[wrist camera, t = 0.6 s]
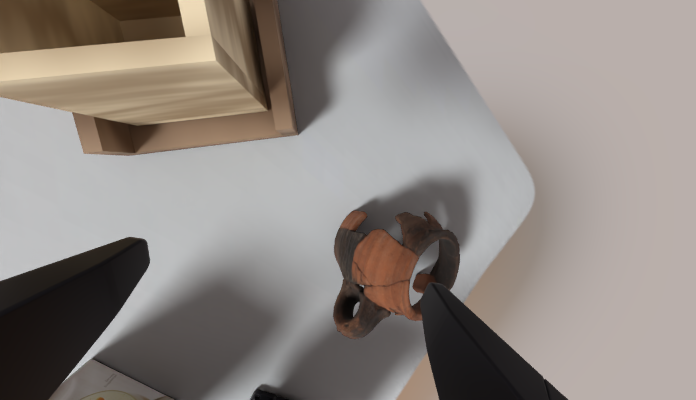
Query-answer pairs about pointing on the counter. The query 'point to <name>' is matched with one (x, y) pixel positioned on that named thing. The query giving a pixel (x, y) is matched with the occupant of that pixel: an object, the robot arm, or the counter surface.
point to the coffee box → (103, 386)
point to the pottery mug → (387, 270)
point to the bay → (214, 130)
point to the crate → (132, 58)
